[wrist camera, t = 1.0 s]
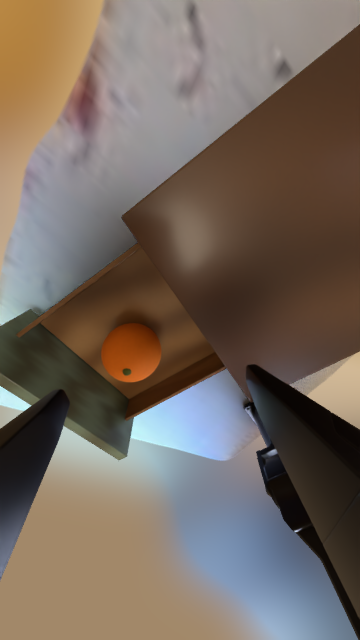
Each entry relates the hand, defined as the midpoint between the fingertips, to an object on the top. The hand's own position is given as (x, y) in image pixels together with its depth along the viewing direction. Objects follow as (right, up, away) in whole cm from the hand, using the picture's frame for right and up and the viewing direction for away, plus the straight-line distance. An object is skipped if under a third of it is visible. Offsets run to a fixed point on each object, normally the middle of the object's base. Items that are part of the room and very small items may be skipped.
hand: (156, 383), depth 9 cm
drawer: (-5, +1, +14) cm, 15 cm away
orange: (-4, +1, +13) cm, 13 cm away
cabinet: (+9, +10, +11) cm, 18 cm away
